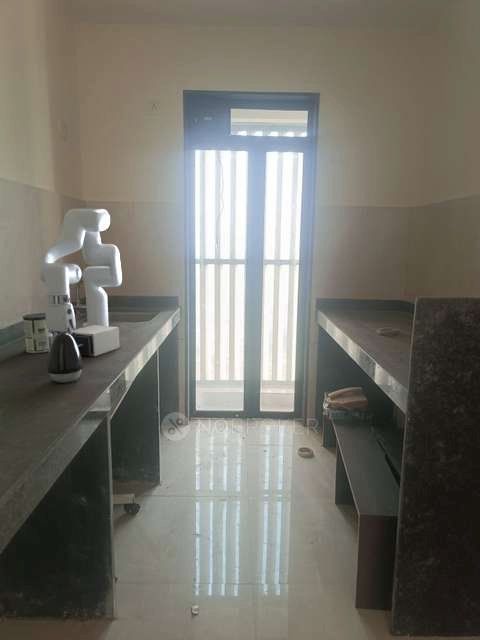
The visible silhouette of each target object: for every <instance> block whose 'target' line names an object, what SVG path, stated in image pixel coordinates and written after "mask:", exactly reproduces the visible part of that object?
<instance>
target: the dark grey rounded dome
mask: <svg viewBox="0 0 480 640" xmlns="http://www.w3.org/2000/svg"><path fill="white" fill-rule="evenodd" d="M75 335H76V333H75V332H73V333H72V334H71V335H70V334H68V333H60V334H58V335H56V336H55V338H54V337H53V341H52V344H51V347H50V351H48V355H47V363H46V364H47V365H46V368H47V373H48V375H49V377H50V378H51V379H52V380H53V381H54V382H56V383H58V384H59V383H60V384H66V383H71V382H74V381H77V379H79V377H80V376H81V374H82V370H83V368H84V364H83V359H82V354H80V352H79V349H78V346H77V344H76V342H75V340H74V339H73V337H74V336H75Z"/></svg>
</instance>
